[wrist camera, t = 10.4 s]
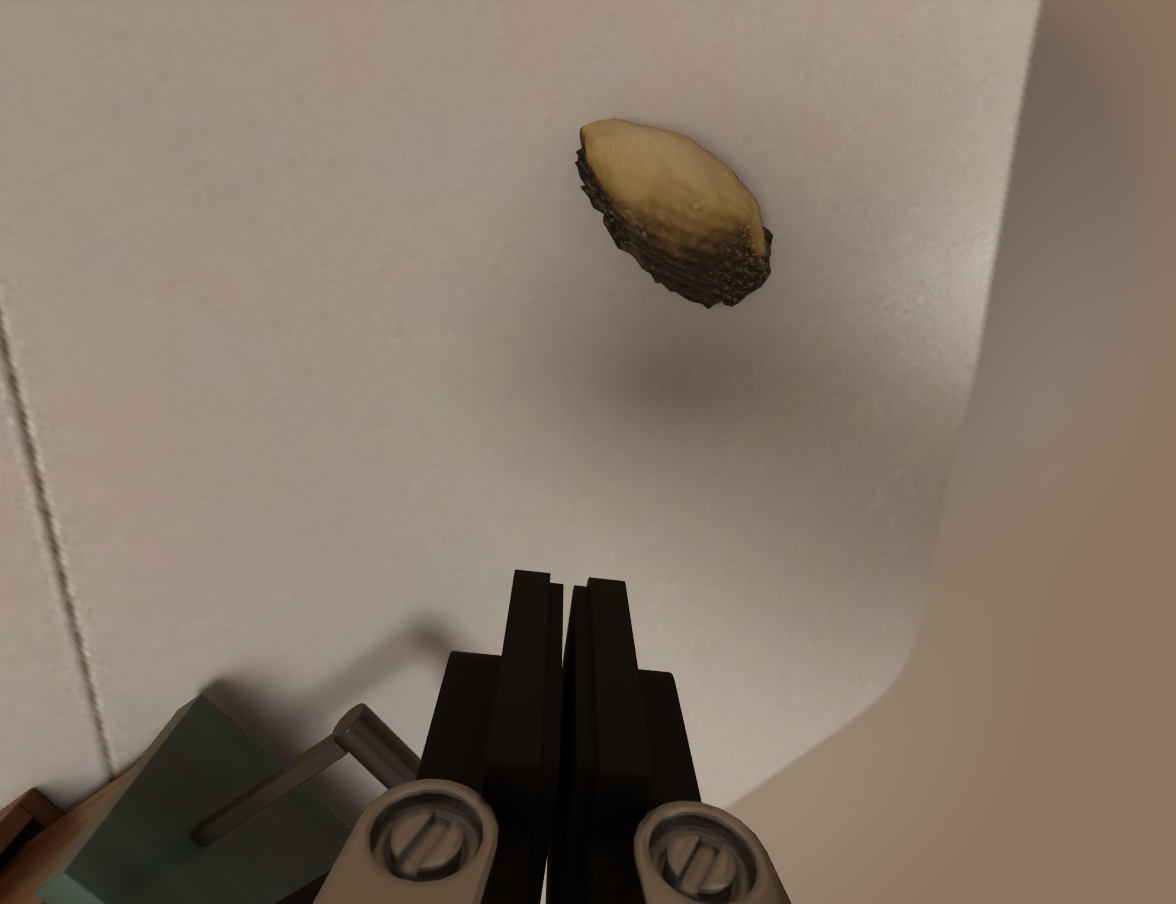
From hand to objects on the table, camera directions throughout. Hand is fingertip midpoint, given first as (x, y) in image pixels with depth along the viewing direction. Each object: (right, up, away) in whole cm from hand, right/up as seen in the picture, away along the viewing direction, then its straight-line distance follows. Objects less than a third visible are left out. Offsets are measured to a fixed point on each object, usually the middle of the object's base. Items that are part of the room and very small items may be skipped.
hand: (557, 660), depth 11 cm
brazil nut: (+3, +10, +11) cm, 15 cm away
